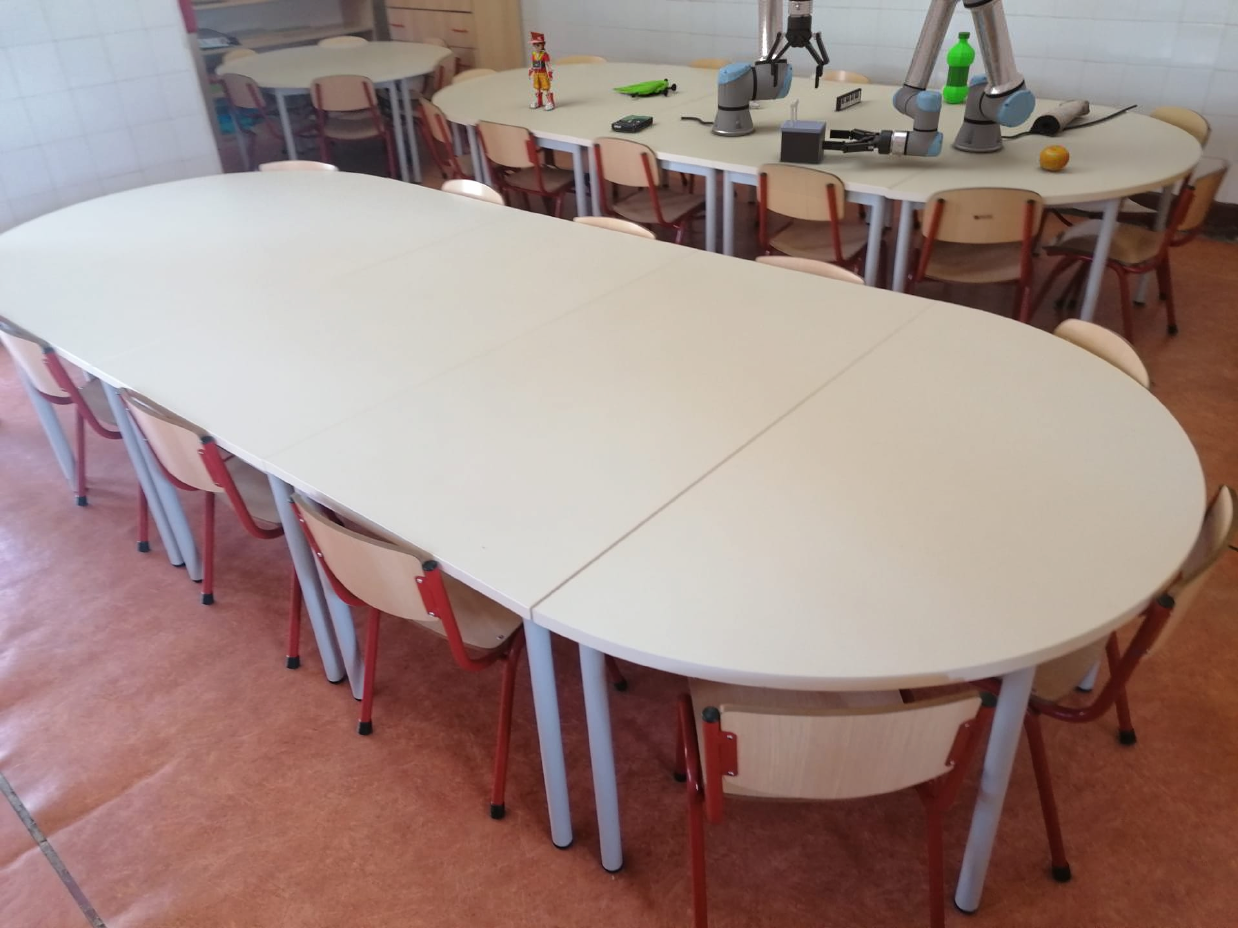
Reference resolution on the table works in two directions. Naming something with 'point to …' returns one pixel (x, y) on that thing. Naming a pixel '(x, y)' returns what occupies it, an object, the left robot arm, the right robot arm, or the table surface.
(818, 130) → the lid
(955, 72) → the plastic bottle
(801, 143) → the chest
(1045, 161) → the fruit
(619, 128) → the disk drive
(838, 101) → the midi keyboard
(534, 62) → the toy
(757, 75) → the left robot arm
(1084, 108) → the rolled mat
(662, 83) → the toy
